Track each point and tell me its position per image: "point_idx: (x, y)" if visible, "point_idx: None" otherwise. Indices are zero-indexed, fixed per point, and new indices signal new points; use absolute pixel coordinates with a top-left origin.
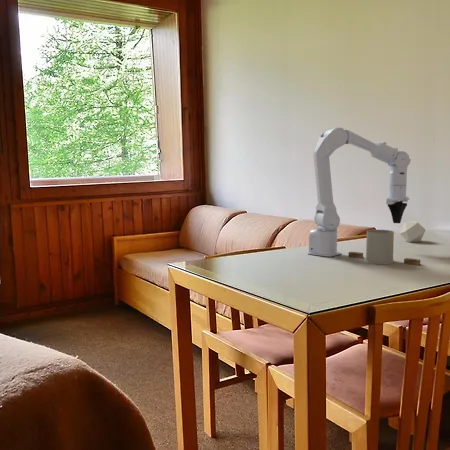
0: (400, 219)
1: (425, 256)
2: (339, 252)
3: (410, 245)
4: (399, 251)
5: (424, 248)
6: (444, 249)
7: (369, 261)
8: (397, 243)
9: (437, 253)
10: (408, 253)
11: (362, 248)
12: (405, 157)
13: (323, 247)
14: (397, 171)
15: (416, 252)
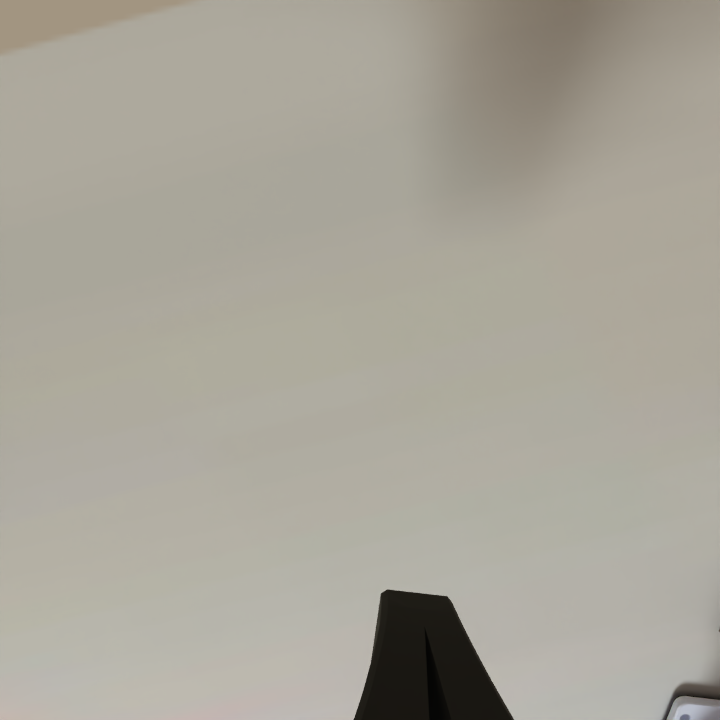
0: (429, 642)
1: (515, 132)
2: (691, 713)
3: (25, 399)
4: (369, 399)
5: (95, 254)
6: (23, 60)
7: None
8: (4, 509)
9: (293, 66)
10: (429, 310)
11: None
12: None
13: None
14: None
15: (344, 263)
